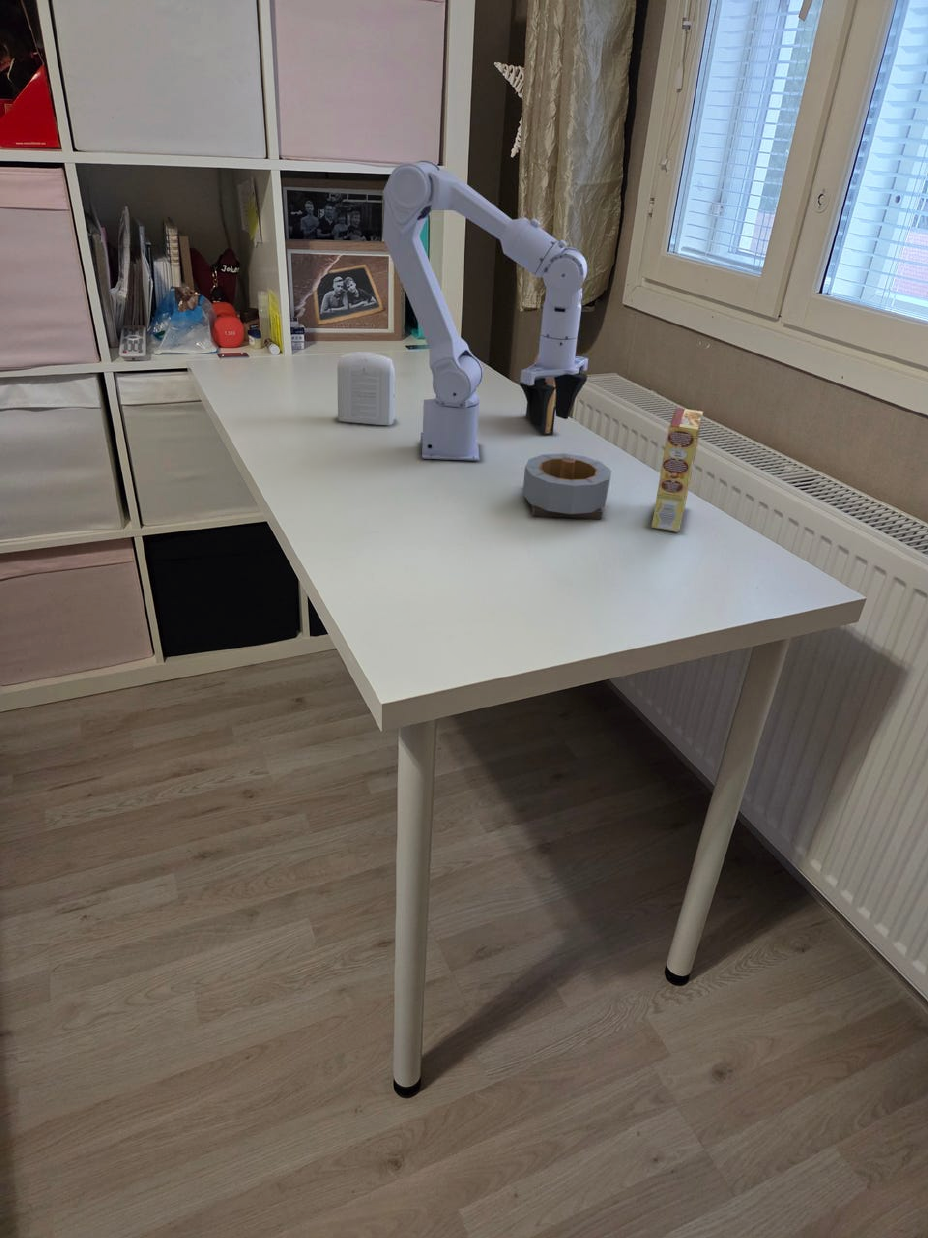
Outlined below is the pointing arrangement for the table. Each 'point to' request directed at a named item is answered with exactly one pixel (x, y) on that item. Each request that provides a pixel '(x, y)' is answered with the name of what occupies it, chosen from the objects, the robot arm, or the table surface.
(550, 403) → the ammunition clip
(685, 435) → the candy box
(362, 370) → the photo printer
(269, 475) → the table surface
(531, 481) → the tape roll
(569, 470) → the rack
